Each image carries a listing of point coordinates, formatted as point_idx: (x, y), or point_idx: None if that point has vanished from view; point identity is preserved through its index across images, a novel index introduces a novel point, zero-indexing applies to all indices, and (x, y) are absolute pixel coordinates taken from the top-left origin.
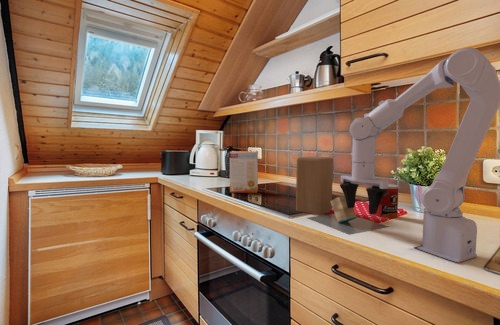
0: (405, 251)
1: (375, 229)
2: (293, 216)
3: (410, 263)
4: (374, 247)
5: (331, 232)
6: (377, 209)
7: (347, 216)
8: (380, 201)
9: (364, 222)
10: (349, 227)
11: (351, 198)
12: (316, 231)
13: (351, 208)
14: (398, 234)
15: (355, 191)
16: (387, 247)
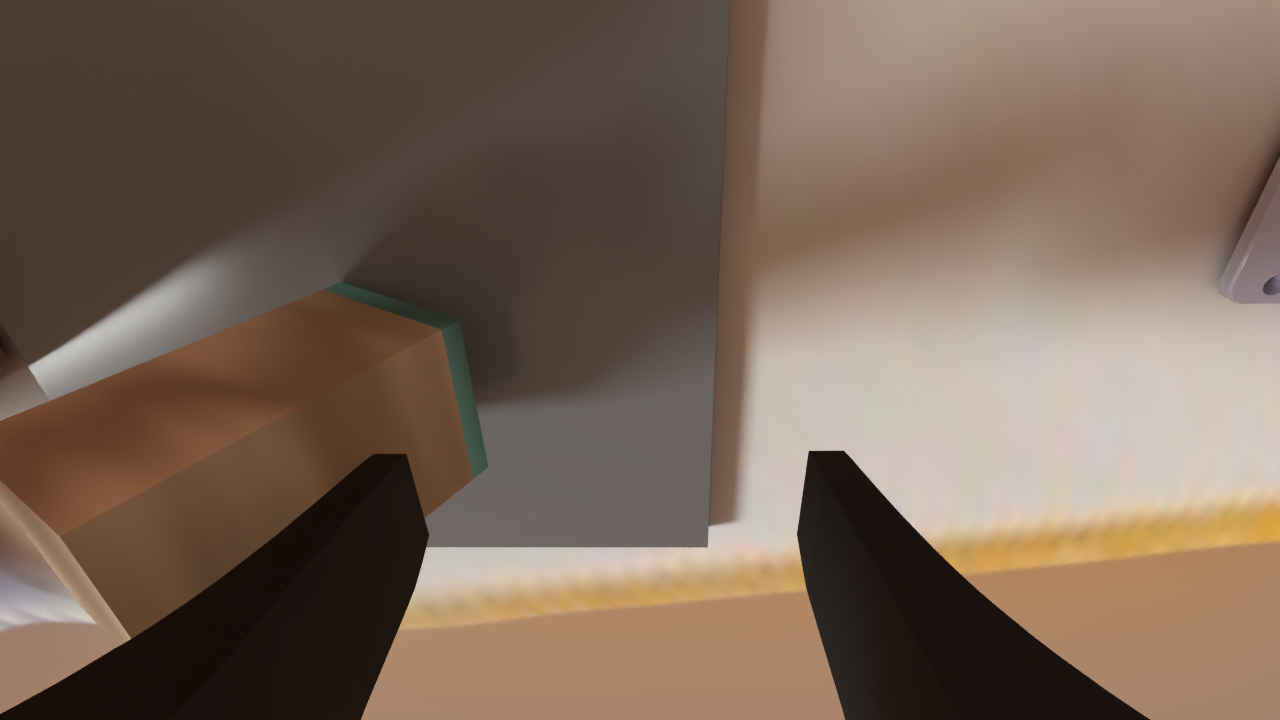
0: (1167, 406)
1: (718, 228)
2: (4, 545)
3: (1249, 539)
4: (953, 522)
5: (547, 552)
6: (876, 491)
7: (459, 467)
8: (983, 599)
9: (425, 104)
10: (550, 423)
11: (345, 629)
12: (488, 615)
13: (344, 419)
14: (926, 10)
15: (225, 696)
16: (1022, 451)
